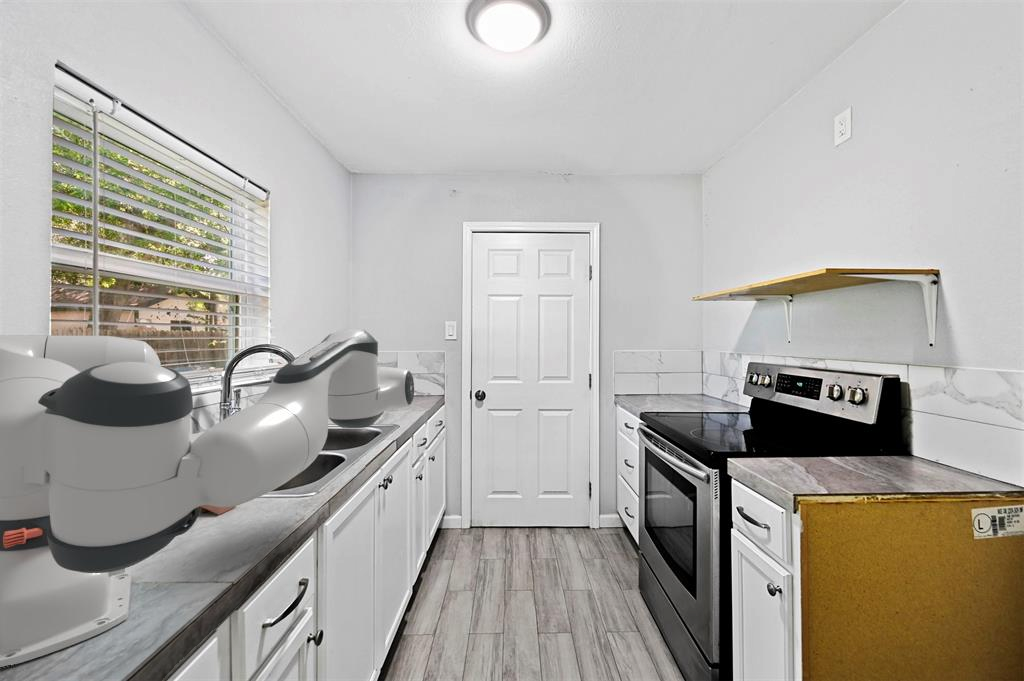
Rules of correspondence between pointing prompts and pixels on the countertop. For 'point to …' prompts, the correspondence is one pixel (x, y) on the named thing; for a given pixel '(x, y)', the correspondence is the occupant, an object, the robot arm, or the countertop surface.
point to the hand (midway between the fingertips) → (284, 387)
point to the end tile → (217, 509)
